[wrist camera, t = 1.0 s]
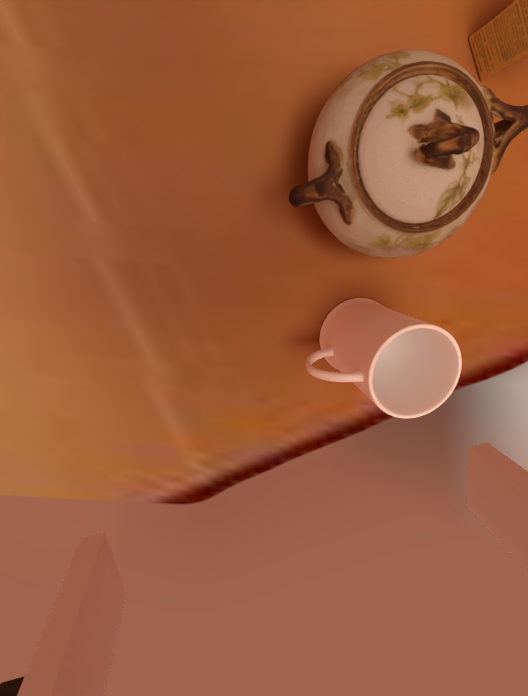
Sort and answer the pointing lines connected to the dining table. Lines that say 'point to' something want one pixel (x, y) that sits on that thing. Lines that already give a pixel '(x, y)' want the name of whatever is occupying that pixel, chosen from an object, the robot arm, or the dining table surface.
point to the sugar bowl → (405, 153)
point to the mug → (388, 357)
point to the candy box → (501, 39)
